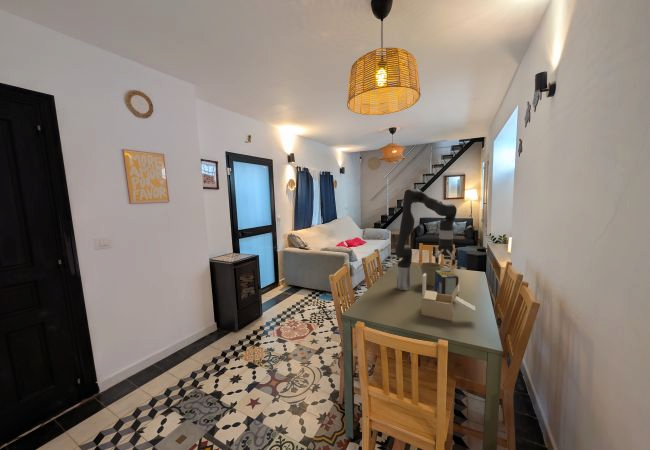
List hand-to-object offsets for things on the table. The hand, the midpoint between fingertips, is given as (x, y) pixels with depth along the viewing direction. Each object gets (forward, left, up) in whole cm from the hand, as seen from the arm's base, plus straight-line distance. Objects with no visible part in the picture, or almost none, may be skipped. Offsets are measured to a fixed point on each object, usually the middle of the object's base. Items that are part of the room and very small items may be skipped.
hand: (445, 264), depth 151 cm
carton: (-3, -6, -29) cm, 29 cm away
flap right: (+6, -6, -14) cm, 17 cm away
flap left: (-8, -6, -19) cm, 21 cm away
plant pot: (-12, +45, -29) cm, 55 cm away
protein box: (0, +27, -29) cm, 39 cm away
